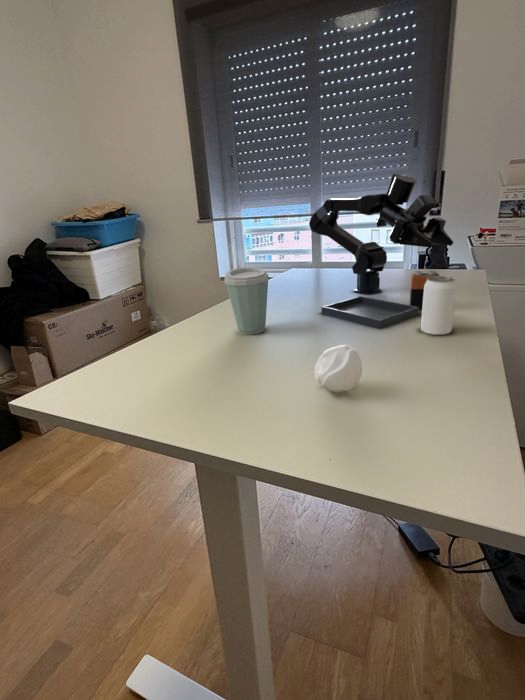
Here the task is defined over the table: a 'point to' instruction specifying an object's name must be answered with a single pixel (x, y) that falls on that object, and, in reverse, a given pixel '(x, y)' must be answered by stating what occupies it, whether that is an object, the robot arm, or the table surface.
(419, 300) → the battery
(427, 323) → the can
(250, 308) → the disposable coffee cup
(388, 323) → the tray
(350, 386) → the white ball
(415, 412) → the table surface
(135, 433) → the table surface
